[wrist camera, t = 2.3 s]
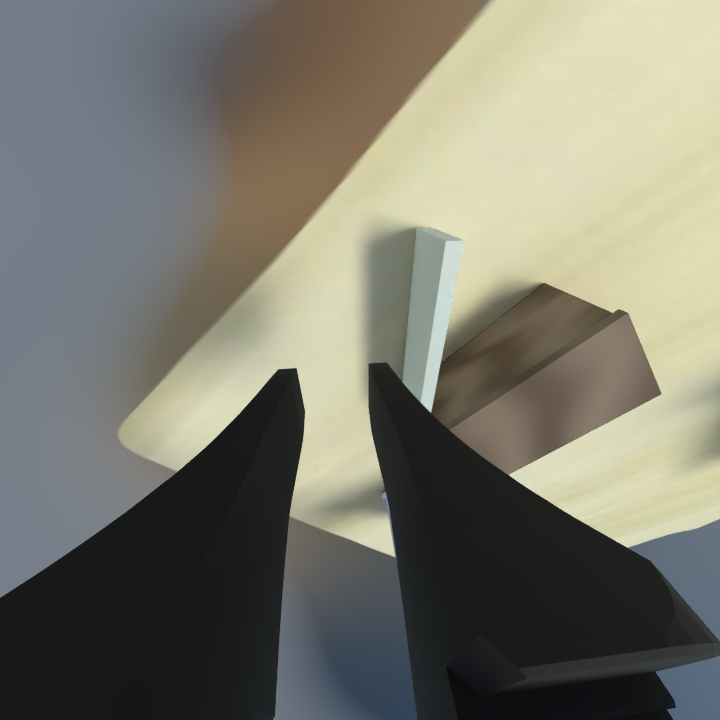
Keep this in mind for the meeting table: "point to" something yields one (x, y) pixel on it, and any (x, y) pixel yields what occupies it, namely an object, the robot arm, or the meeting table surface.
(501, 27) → the meeting table surface
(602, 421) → the cabinet
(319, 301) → the meeting table surface
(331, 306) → the meeting table surface
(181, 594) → the robot arm
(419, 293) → the cabinet door
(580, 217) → the meeting table surface
